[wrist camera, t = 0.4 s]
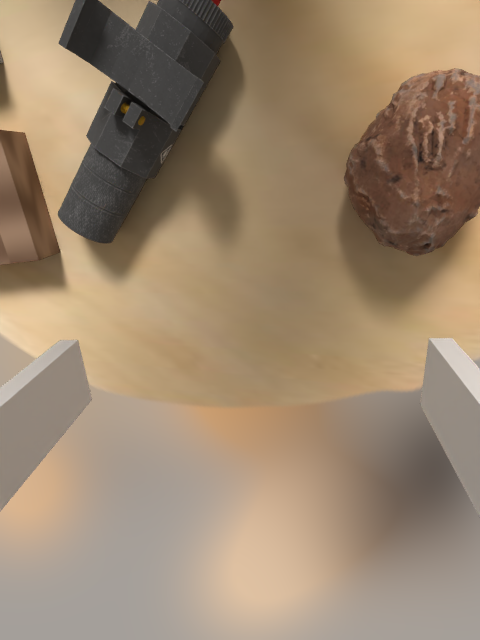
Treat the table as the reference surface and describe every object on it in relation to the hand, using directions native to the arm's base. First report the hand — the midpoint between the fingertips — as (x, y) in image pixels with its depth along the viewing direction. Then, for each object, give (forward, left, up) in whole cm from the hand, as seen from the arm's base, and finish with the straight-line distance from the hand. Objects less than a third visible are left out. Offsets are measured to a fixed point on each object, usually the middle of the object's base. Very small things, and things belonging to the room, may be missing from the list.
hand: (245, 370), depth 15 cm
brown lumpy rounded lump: (-5, +13, -28) cm, 31 cm away
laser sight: (-12, -10, -28) cm, 32 cm away
